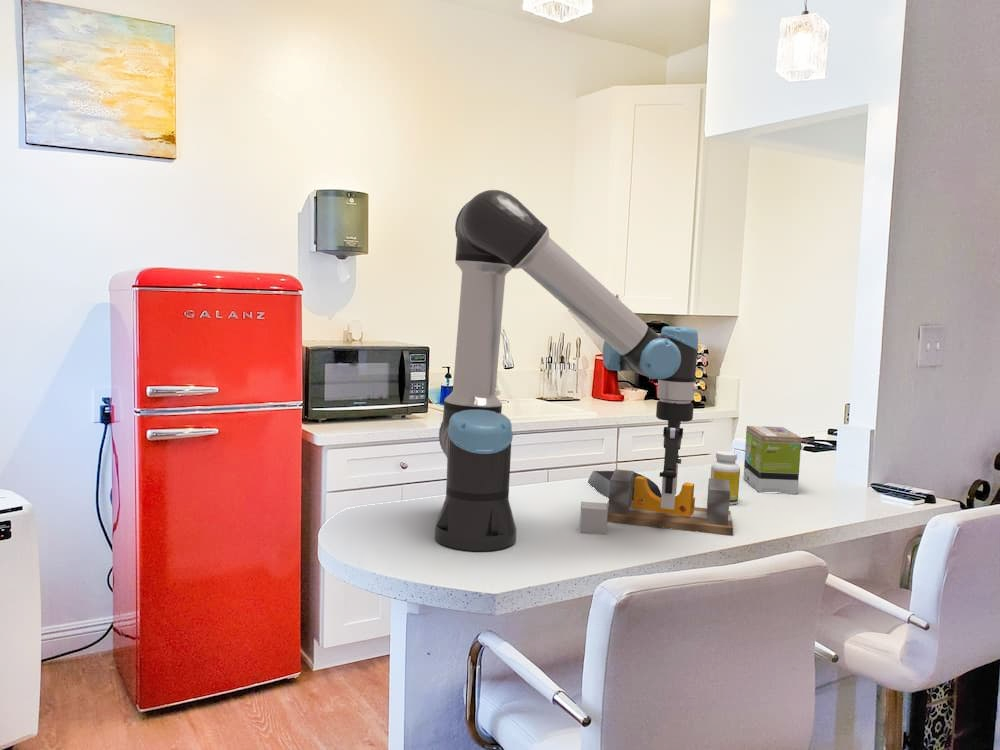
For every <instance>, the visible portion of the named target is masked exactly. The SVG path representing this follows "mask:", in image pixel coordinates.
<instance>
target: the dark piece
mask: <svg viewBox="0 0 1000 750" xmlns="http://www.w3.org/2000/svg"><path fill="white" fill-rule="evenodd" d="M614 471H615V470H593V471H592V472H591V474H590V476H589V478H588V480H587V482H588V483H589V484H590V485H591V486H592V487H594V488H595V489H596V490H597V491H599V492H600V493H601V494H600V493H599V492H598V493H599V494H600V495H602V494H603V495H602V496H604V497H605V496H606V498H607V497H608V498H607V499H609V490H610V479H611V477H612V475H613V473H614ZM638 476H642V477H646V476H644V475H642V474H640V473H637V472H635V471H634V475H633V491H632V501H633V500H634V484H635V478H636V477H638ZM647 482H648V486H649V488H650V490H651V491H652V492H653V493H654V494H655V495H656V496H658V497H660V498H661V494H662V491H661V489H660V487H659V486H658V485H657V484H656V483H655V482H654V481H653V480H651V479H650V478H649V477H647ZM588 483H587V484H588ZM589 484H588V485H589ZM590 485H589V486H590ZM591 486H590V487H591ZM592 487H591V488H592ZM595 489H594V490H595ZM596 490H595V491H596ZM597 491H596V492H597ZM641 502H643V500H642V499H641Z"/></svg>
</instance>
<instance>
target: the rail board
mask: <svg viewBox="0 0 1000 750" xmlns="http://www.w3.org/2000/svg"><path fill="white" fill-rule="evenodd" d="M613 471H614V473H613V475H612V477H611V479H610V490H609V498H608V501H607V502H606V505H607V509H608V514H607V523H616V524H617V523H618V524H623V525H624V524H625V525H633V524H635V525H634V526H642V525H645V526H644V527H651V526H655V527H654V528H660V527H664V528H663V529H669V528H672V529H671V530H678V529H681V531H687V530H690V531H689V532H696V531H698V532H697V533H707V534H715V535H716V534H717V535H723V534H725V536H732V535H733V536H734V525H733V517H732V516H733V515H732V511H731V510H730V505H729V503H730V487H729V481H728V480H722V479H712V478H711V477H709V478H708V484H707V501H706V508H705V507H698V506H697V507H696V506H694V513H693V514H692V515H691V516H690V517H686V516H680V515H674V514H667V513H661V512H655V511H649V510H642V509H636V508H633V501H632V491H633V475H634V472H635V470H626V469H614V470H613ZM643 503H644V502H643Z"/></svg>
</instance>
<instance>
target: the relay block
mask: <svg viewBox="0 0 1000 750" xmlns="http://www.w3.org/2000/svg"><path fill="white" fill-rule="evenodd" d="M606 504H607V502H594V501H593V502H592V501H591V502H590V501H580V516H579V519H580V520H579V530H580V533H581V534H593V535H594V534H596V535H607V529H608V528H607V527H608V522H607V514H608V509H607V505H606Z"/></svg>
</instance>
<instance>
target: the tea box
mask: <svg viewBox="0 0 1000 750" xmlns="http://www.w3.org/2000/svg"><path fill="white" fill-rule="evenodd" d="M745 432H746V433H745V447H744V466H743V480H745V481H746V482H747V483H748V484H749V485H751V487H753V488H754V489H755V490H756V491H757V492H758V493H759V492H780V493H794V494H793V495H798V489H799V475H800V464H801V463H800V461H801V451H802V450H801V449H802V436H800V435H798V434H796V433H794V432H792V431H790V430H789V429H786V428H785V427H782V426H781V427H780V426H764V425H763V426H762V425H758V426H757V425H755V426H752V425H747V426H746V431H745Z"/></svg>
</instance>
